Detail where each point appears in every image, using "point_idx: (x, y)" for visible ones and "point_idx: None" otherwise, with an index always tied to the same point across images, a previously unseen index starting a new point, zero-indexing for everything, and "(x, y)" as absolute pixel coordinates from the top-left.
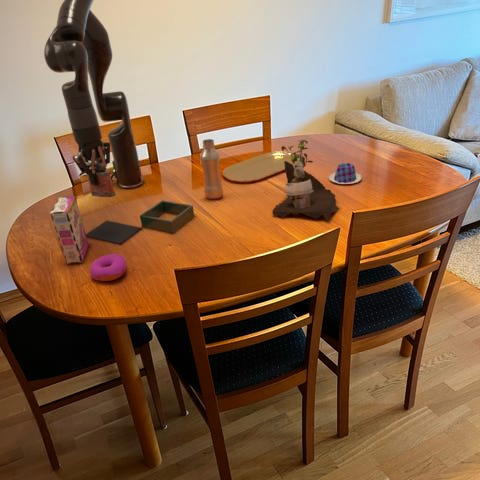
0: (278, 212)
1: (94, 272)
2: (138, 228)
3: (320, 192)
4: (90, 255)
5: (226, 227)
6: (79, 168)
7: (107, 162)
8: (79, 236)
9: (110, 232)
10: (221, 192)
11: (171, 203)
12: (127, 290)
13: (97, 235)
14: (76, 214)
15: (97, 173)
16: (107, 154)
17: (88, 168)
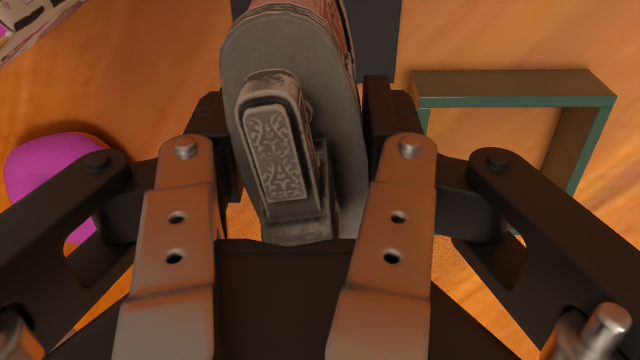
0: None
1: (6, 189)
2: (384, 74)
3: None
4: (106, 18)
5: (470, 300)
6: (23, 204)
7: (451, 237)
8: (31, 45)
9: None
10: None
11: (579, 152)
12: (73, 250)
13: None
14: (13, 51)
15: (254, 202)
16: (511, 309)
17: (122, 269)
